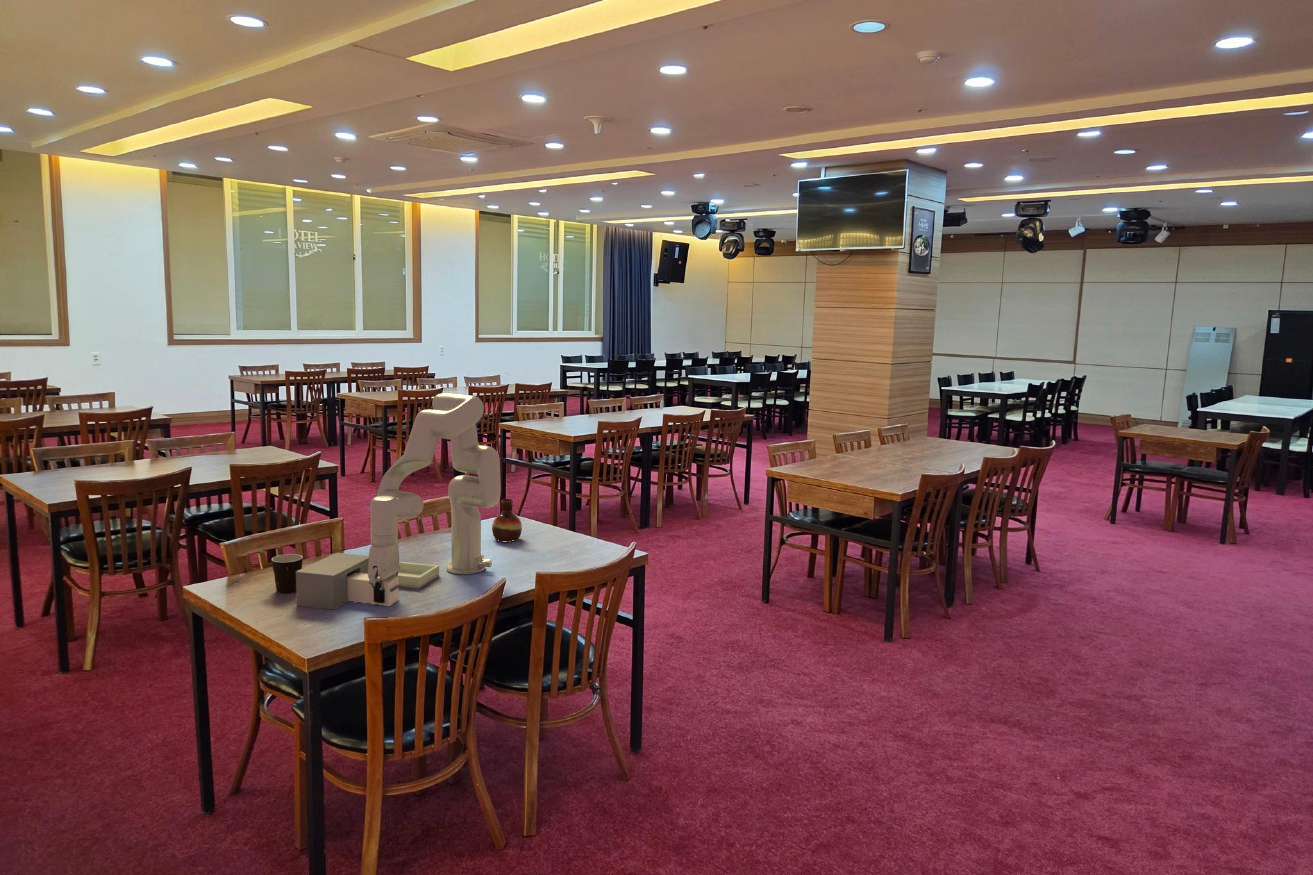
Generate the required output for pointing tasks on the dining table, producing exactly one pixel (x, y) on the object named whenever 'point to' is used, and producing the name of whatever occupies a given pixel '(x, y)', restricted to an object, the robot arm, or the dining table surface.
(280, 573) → the coffee mug
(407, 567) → the tray
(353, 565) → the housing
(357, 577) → the tan cardboard box
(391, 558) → the robot arm
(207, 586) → the dining table surface
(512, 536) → the vase
